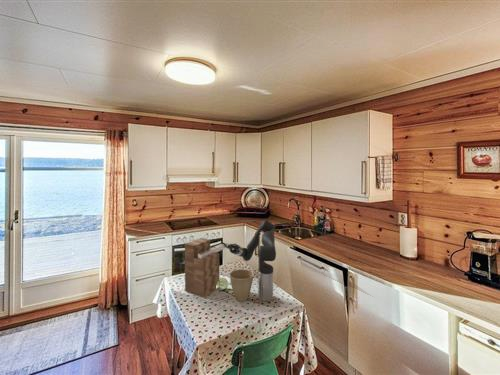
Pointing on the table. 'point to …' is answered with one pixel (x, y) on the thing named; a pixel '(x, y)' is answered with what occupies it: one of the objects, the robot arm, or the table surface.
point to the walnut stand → (200, 268)
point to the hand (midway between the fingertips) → (225, 244)
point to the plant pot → (241, 283)
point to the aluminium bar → (210, 251)
